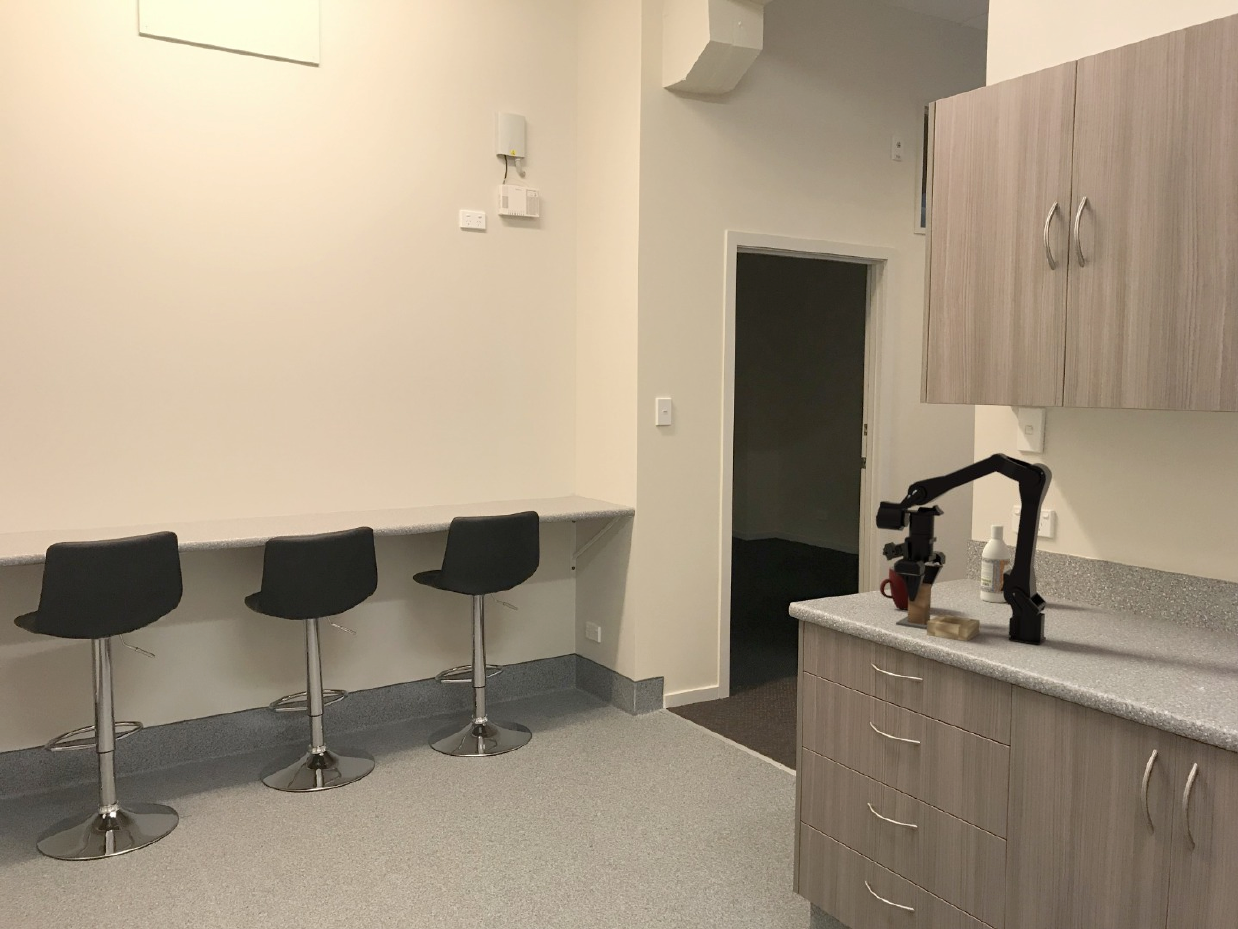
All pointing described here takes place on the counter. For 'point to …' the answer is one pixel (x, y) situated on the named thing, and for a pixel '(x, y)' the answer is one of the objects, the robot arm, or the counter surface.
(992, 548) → the bath foam
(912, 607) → the peg
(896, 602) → the mug
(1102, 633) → the counter surface
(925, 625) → the mat
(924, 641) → the counter surface
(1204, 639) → the counter surface
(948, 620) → the holder
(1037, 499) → the robot arm
